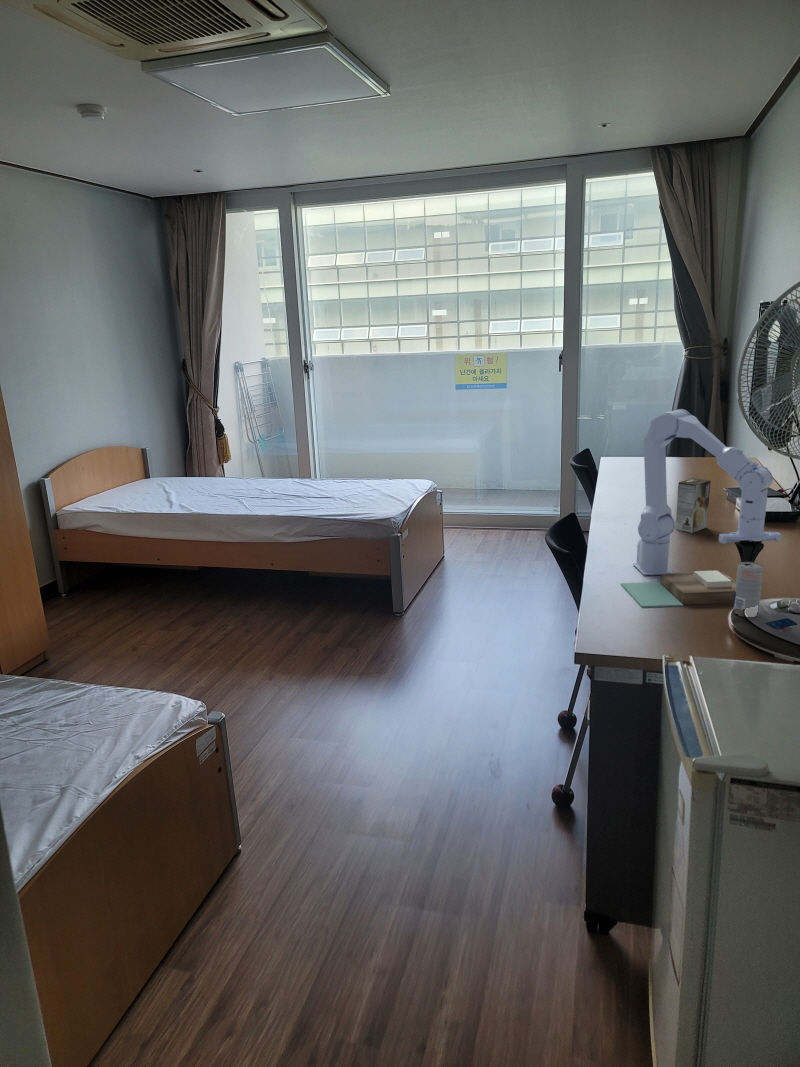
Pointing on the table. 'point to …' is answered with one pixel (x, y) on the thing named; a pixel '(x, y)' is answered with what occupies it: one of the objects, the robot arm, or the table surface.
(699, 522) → the coffee box
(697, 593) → the block
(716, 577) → the cream tile
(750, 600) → the energy drink
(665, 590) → the teal mat
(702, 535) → the table surface
